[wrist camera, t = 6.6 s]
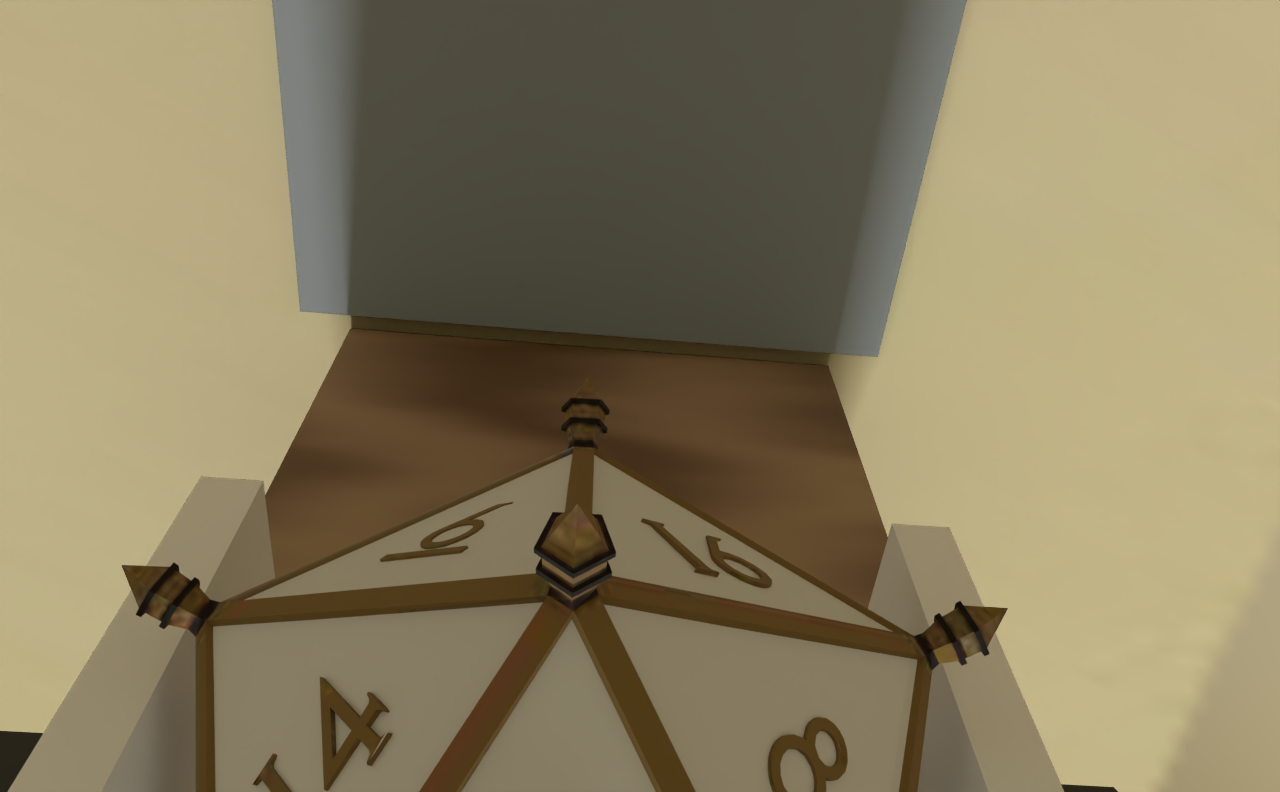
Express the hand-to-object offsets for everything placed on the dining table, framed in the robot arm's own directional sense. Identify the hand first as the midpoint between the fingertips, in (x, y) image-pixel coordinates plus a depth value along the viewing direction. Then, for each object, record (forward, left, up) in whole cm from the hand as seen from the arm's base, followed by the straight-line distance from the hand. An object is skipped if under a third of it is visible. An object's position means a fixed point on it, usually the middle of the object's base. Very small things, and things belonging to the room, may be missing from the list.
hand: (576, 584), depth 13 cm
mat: (0, +4, -10) cm, 11 cm away
